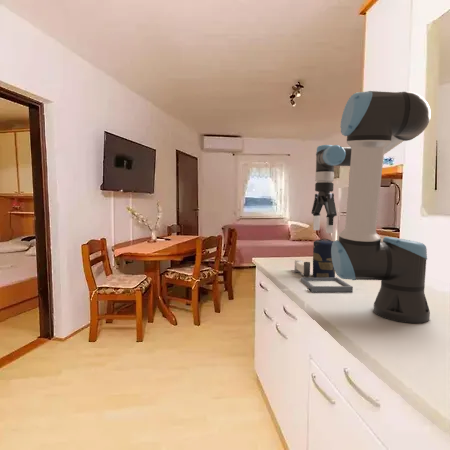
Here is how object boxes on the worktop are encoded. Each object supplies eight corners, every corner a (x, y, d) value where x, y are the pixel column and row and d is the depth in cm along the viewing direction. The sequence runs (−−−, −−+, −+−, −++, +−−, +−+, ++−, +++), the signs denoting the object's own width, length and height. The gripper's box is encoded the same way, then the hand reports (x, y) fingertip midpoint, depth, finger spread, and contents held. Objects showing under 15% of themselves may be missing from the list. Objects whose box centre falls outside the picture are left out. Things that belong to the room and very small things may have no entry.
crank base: (306, 275, 152) (306, 273, 152) (293, 275, 151) (293, 273, 151) (302, 272, 158) (302, 270, 158) (290, 272, 157) (290, 270, 157)
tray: (352, 292, 124) (352, 286, 124) (311, 292, 123) (312, 286, 123) (337, 282, 139) (337, 277, 138) (300, 282, 138) (300, 277, 137)
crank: (293, 270, 156) (294, 256, 156) (301, 270, 156) (301, 256, 156) (303, 278, 141) (303, 262, 140) (311, 278, 141) (312, 262, 140)
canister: (336, 282, 138) (337, 240, 137) (312, 281, 140) (314, 239, 139) (333, 277, 148) (335, 237, 146) (311, 276, 150) (312, 236, 148)
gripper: (346, 180, 130) (344, 234, 131) (320, 183, 154) (319, 229, 156) (328, 180, 129) (326, 234, 130) (305, 183, 153) (303, 228, 155)
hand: (322, 231), depth 143 cm, fingers open, 13 cm apart
